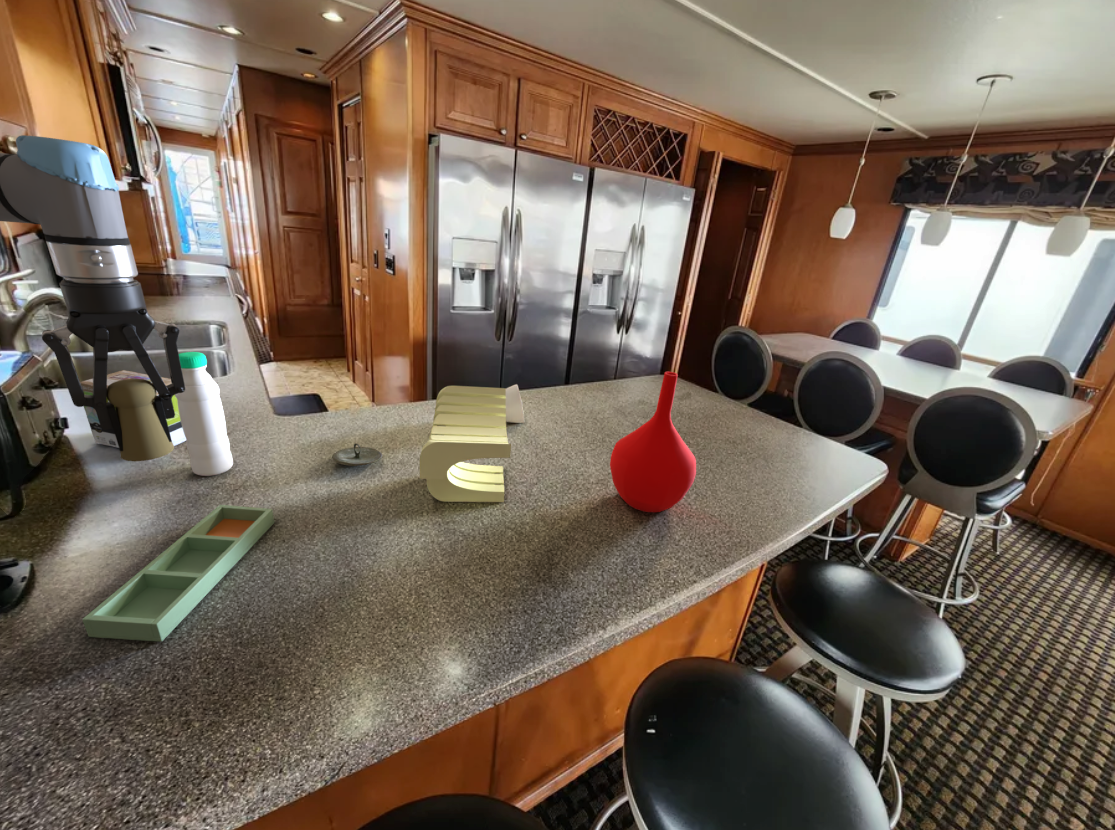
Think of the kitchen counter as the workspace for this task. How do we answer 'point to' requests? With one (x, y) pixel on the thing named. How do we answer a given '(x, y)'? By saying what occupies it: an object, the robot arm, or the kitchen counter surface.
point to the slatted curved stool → (466, 445)
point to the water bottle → (203, 418)
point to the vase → (654, 459)
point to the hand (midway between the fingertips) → (145, 442)
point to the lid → (357, 456)
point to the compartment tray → (179, 576)
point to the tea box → (108, 434)
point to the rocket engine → (514, 405)
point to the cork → (138, 420)
